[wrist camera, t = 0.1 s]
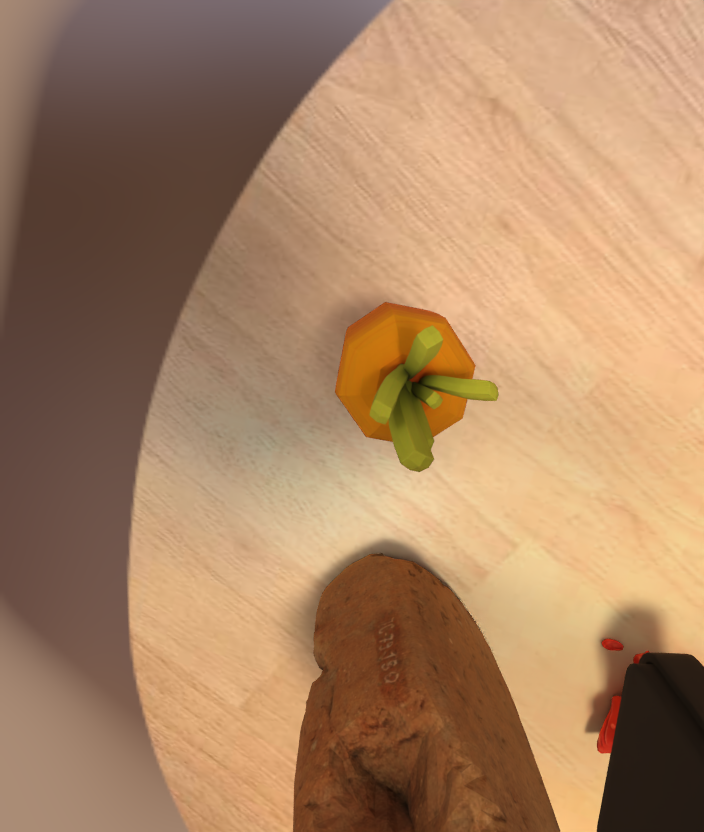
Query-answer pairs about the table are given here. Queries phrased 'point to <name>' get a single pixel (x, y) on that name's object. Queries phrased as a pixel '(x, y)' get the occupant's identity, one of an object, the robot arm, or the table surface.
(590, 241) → the table surface
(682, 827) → the robot arm
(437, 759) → the brown rock
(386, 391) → the carrot
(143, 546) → the table surface
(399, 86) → the table surface
